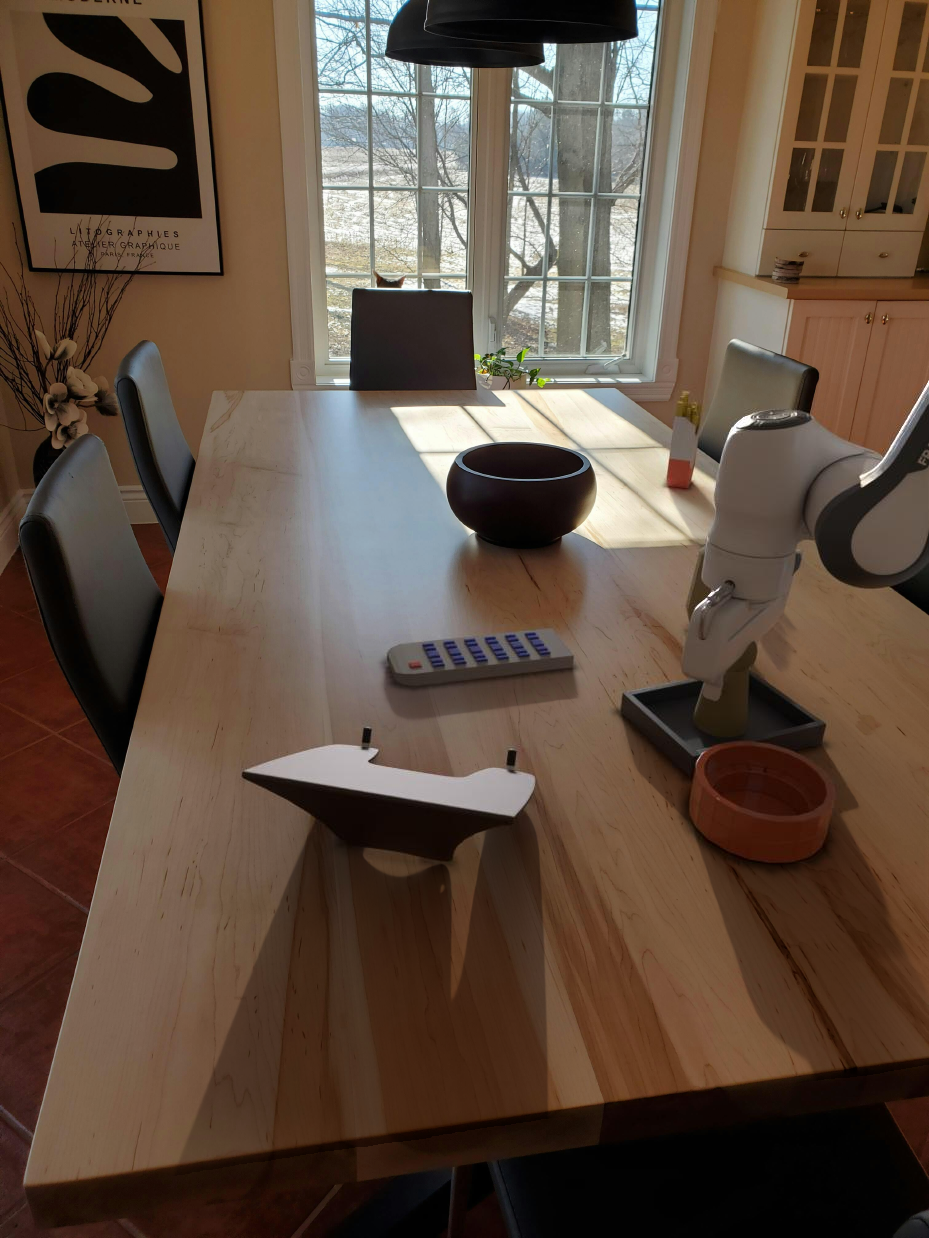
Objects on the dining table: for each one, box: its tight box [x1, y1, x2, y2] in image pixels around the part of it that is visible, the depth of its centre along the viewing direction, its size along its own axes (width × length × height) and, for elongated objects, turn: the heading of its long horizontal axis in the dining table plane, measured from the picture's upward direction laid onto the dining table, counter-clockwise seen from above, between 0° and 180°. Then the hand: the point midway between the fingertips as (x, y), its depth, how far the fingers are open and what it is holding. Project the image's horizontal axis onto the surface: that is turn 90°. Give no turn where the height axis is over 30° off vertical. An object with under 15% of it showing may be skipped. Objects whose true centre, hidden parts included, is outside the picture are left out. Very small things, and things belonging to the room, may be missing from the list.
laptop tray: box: [241, 726, 536, 863], centre depth 83 cm, size 23×23×9 cm
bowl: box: [688, 741, 837, 864], centre depth 86 cm, size 13×13×5 cm
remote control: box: [386, 627, 575, 687], centre depth 114 cm, size 8×23×2 cm, turn 106°
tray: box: [619, 668, 827, 778], centre depth 101 cm, size 18×14×3 cm
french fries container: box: [666, 390, 703, 490], centre depth 181 cm, size 5×11×18 cm, turn 160°
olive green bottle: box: [692, 641, 758, 738], centre depth 99 cm, size 6×6×11 cm
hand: (726, 683), depth 99 cm, fingers open, 6 cm apart
